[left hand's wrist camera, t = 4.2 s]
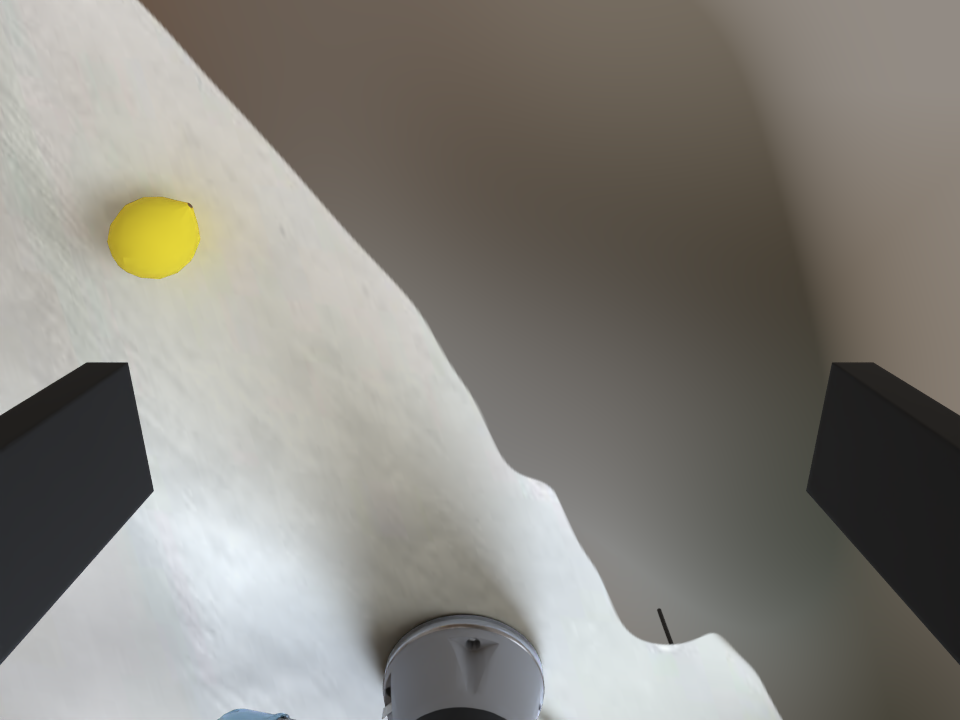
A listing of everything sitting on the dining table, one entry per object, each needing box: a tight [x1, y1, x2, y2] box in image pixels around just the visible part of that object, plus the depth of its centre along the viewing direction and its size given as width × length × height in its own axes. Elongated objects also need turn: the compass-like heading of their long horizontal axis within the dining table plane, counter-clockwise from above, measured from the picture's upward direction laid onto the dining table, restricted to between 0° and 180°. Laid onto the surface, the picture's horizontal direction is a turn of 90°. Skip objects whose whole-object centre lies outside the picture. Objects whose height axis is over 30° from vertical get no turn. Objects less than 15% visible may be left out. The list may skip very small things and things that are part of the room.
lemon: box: [107, 197, 200, 279], centre depth 45 cm, size 7×5×5 cm
